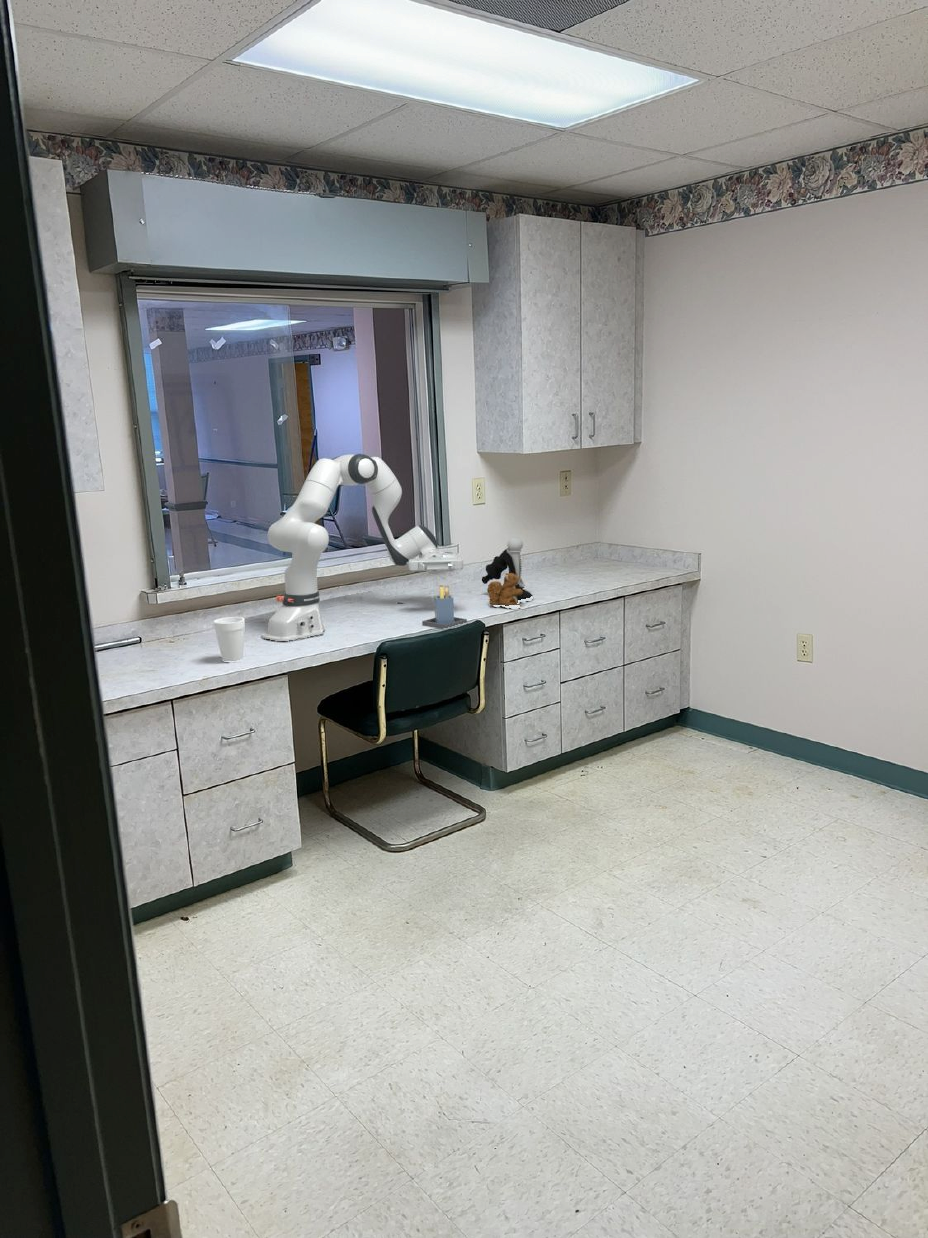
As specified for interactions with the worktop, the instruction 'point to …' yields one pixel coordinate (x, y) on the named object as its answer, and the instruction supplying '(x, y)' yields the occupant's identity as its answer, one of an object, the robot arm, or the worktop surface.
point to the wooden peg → (446, 591)
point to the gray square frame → (436, 625)
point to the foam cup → (230, 637)
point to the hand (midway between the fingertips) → (438, 567)
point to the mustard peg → (441, 592)
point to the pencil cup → (444, 610)
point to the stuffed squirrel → (504, 591)
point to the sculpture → (508, 565)
